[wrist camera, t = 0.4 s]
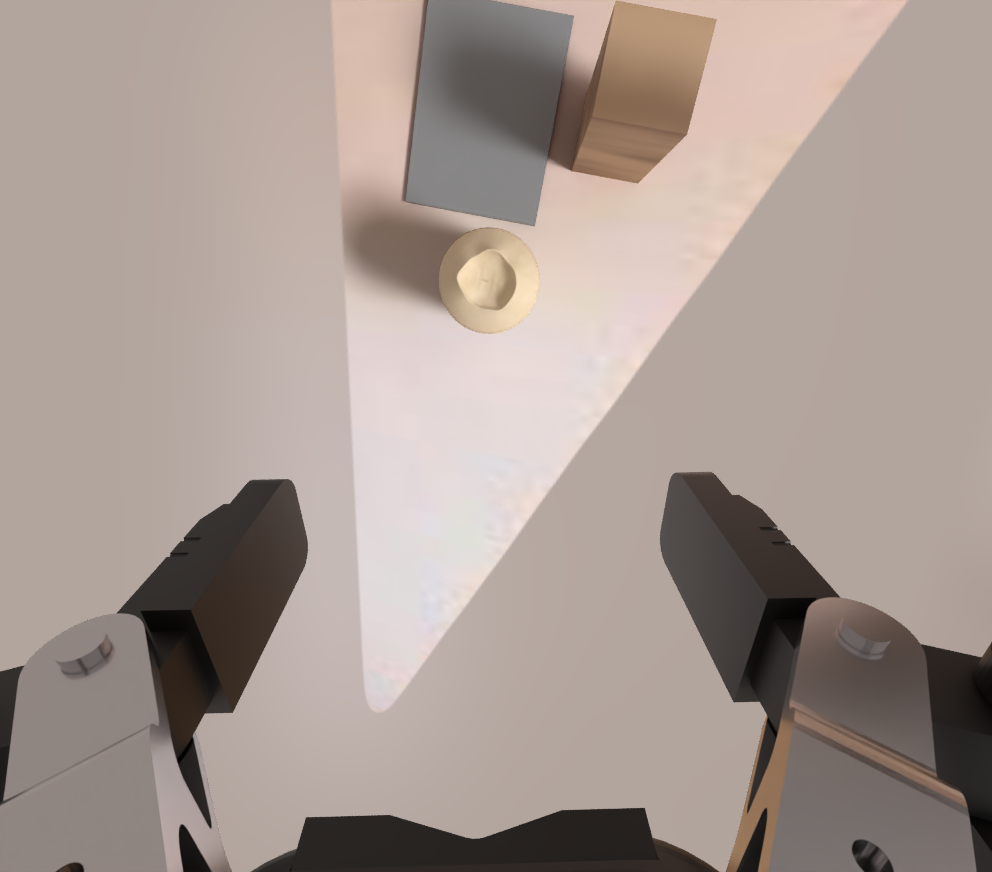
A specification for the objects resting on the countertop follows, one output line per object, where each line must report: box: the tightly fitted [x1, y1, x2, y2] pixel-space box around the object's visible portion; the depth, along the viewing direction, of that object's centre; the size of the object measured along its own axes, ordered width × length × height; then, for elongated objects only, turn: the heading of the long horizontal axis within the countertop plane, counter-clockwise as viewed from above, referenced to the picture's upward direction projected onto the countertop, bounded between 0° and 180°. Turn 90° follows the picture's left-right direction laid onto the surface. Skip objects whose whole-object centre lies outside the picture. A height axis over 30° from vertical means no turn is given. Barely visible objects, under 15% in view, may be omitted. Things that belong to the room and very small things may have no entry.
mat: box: [406, 0, 574, 226], centre depth 31 cm, size 12×9×1 cm
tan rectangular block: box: [572, 1, 717, 183], centre depth 26 cm, size 4×5×10 cm
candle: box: [439, 228, 539, 334], centre depth 29 cm, size 6×6×10 cm
